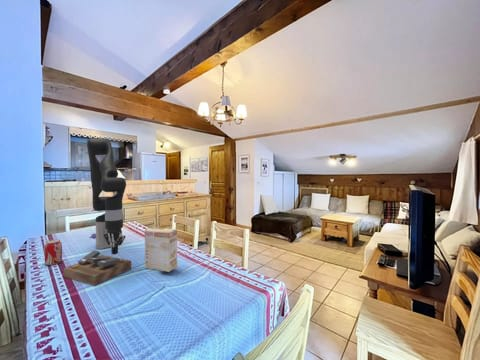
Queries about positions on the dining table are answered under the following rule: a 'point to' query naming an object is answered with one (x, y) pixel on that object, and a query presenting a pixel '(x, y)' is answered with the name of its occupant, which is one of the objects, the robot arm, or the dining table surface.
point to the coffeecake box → (161, 249)
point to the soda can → (53, 252)
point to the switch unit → (96, 271)
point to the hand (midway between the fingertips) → (114, 253)
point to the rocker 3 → (108, 262)
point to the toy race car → (93, 236)
